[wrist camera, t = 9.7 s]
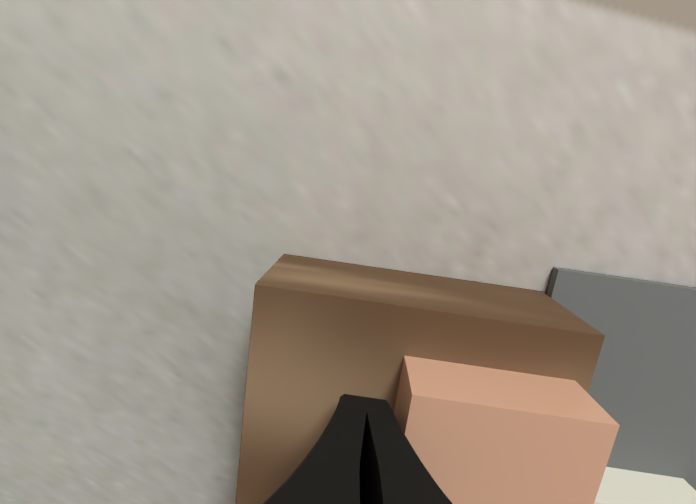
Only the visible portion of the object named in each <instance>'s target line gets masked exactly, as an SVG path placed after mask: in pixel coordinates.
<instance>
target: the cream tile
mask: <svg viewBox="0 0 696 504" xmlns="http://www.w3.org/2000/svg"><path fill="white" fill-rule="evenodd" d="M594 504H696V490H695V489H694V488H693V487H692V486H690V485H689V484H688V483H687V482H686V481H685V480H684V479H683V478H677V477H670V476H664V475H657V474H651V473H644V472H637V471H631V470H624V469H618V468H611V467H606V469H605V472H604V475H603V478H602V481H601V484H600V487H599V490H598V493H597V496H596V499H595V502H594Z"/></svg>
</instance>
